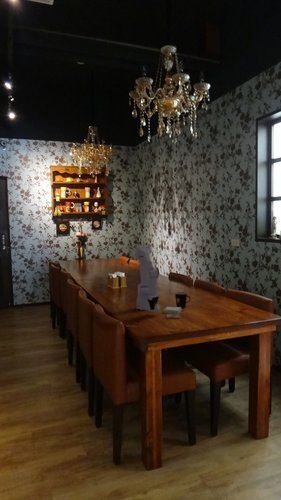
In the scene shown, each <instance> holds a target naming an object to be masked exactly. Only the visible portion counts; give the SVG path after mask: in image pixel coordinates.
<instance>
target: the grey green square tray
mask: <svg viewBox="0 0 281 500" xmlns="http://www.w3.org/2000/svg"><path fill="white" fill-rule="evenodd" d="M181 311H182V308H181V307H177V306H166V307H165V308H164V309H163V314H179V315H180V313H181Z"/></svg>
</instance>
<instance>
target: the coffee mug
mask: <svg viewBox="0 0 281 500" xmlns="http://www.w3.org/2000/svg"><path fill="white" fill-rule="evenodd" d="M174 296H175V297H174V298H175V303H176V306H175V307H181V309H185V308H186V306H187V304H188V303H189V302H190V301H191V300H192V299H191V296H189V295H188V292H185V291H176V292H174ZM188 298H189V300H188V301H187V299H188Z"/></svg>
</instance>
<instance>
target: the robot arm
mask: <svg viewBox="0 0 281 500" xmlns="http://www.w3.org/2000/svg"><path fill="white" fill-rule="evenodd" d="M151 252H152V247H151V246H150V245H137V246H136V247H135V258H136V259H138V261H139V273H140V283H139V284H138V285H137V295H138V296H137V297H136V310H137V309H140V310H139V311H147V304H148V303H149V305H150V309H151V310H154V307H155V303H158V302H159V301H158V300H159V298H160V294H159V293H158V278H159V276H160V273H159V270H158V269H157V267H156V266H155V263H154V261H153V260H152V258H151Z"/></svg>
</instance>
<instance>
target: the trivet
mask: <svg viewBox="0 0 281 500" xmlns="http://www.w3.org/2000/svg"><path fill="white" fill-rule="evenodd" d="M165 314H166V319H169V320H171V319H179V320H180V319H181V317H180V313H179V314H172V313H165Z"/></svg>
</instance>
